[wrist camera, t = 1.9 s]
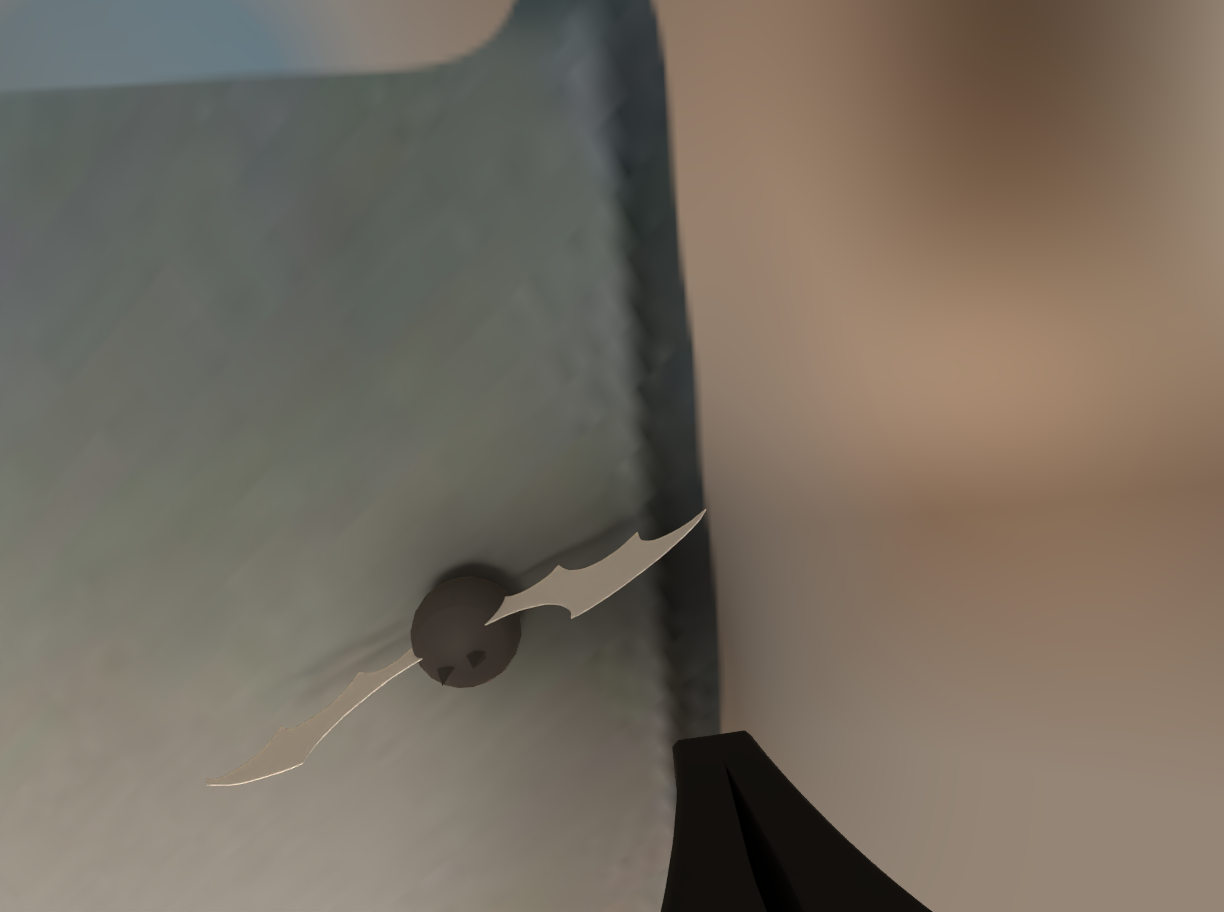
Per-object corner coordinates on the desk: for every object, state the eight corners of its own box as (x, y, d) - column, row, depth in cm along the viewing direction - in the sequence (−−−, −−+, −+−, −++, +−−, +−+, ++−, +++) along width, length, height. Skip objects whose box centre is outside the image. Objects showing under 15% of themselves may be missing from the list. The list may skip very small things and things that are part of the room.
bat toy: (232, 683, 19) (128, 804, 15) (667, 444, 18) (700, 493, 14) (292, 756, 20) (211, 891, 15) (712, 529, 19) (759, 601, 15)
